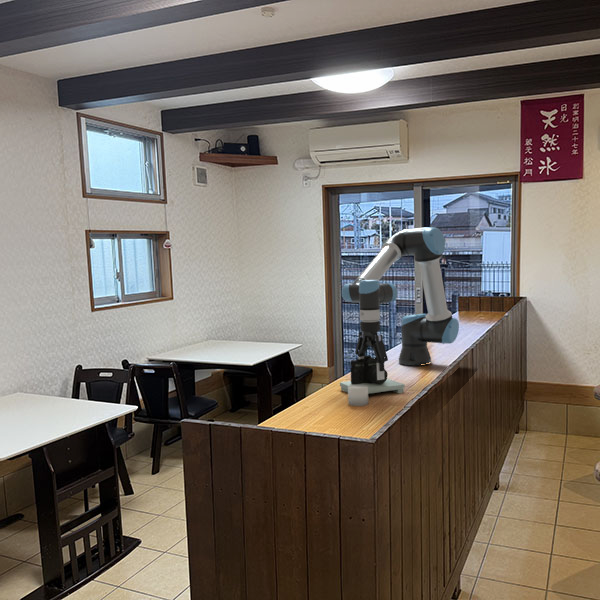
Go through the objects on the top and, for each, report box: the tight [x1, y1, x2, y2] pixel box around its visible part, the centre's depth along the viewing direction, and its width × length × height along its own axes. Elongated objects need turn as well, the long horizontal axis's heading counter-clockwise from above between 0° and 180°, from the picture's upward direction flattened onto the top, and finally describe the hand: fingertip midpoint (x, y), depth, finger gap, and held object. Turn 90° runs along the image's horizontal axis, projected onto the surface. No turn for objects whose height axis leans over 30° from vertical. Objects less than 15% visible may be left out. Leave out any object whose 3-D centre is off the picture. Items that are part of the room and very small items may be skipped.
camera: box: [350, 355, 388, 384], centre depth 213 cm, size 14×11×10 cm
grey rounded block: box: [347, 384, 369, 407], centre depth 196 cm, size 7×7×6 cm
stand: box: [339, 378, 406, 395], centre depth 213 cm, size 19×16×3 cm
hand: (371, 376), depth 213 cm, fingers open, 13 cm apart
